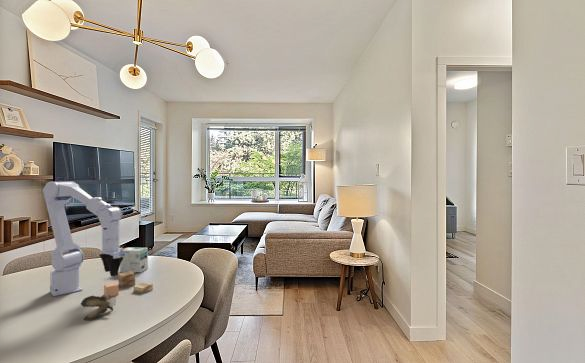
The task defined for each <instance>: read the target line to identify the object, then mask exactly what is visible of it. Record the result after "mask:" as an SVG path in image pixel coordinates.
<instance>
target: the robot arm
mask: <svg viewBox="0 0 585 363" xmlns="http://www.w3.org/2000/svg"><path fill="white" fill-rule="evenodd" d="M43 187H44V188H43V189H42V192H43V195H44V196H43V197H44V200H45V204H46V209H47V212H48V216H49V221H50V225H51V228H52V233H53V236H54V241H55V244H56V247H55V248H54V250H53V251H51V253H50V255H51V267H52V268H53V269H54V270H52V271H50V273H49V292H50V293H51V296H52V297H56V296H60V295H65V294H69V293H75V292H80V291H83V288H82V287H81V285H80V267H81V266H82V265H81V264H83V262H84V260H85V255H84V254H85V253H83V251H82V250H81V246H80V245H78V244H77V243H75V242H74V241H73V236H72V233H71V228H70V225H69V221H68V217H67V214H66V209H65V205H66V204H67V203H68V202H69V201H70V200H72V199H73V198H74V199H75V200H77V201H79V202H80V203H82V204H84V205H85V207H86V210H88V211H89V212H90V213H92V214H94V215H95V216H97V218H98V220H99V223H100V227H101V231H102V232H101V233H102V234H101V236H102V237H101V238H102V239H101V240H102V241H101V242H102V244H101V245H102V250H101V253H99V258H100V259H101V262H102V264H103V267H104V268H103V269H104V272H106V273H107V272H109V274H110V277H116V276H118V273H119V271H120V264H121V262H122V260H123V257H122V256H121V257H120V251H121V250H123V249H124V248H123V247H120V221H121V220H122V219H123V216H124V215H123V214H124V213H123V211H122V209H121V208H120V207H119V206H112V205H111V204H110V203H107V202H106V201H104V200H103V198H102V197H100V196H99V197H97V196H95V197H92V196H91V195H90V194H88V193H87V192H86V191H85V190H83V189H82V188H81V187H80V185H79V184H78V183H76V182H75V181H73V180H70V181H48V182H46V183H45V186H43Z"/></svg>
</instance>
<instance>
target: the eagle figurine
mask: <svg viewBox="0 0 585 363" xmlns="http://www.w3.org/2000/svg"><path fill="white" fill-rule="evenodd" d="M116 303H117V299H116V298H115V297H114V296H112V297H111V296H110V295H109V297H108V298H107V297H106V296H97V295H91V296H87V297H85V298H83V299H82V301H81V302H80V305H81V306H82V308H83V307H89V308H93V307H98V308H96V309H95V310H93V311H91V312H90V313H89V314H87V315H85V316H84V317H83V318H82V319H83V321H91V320H94V319H96V318H97V317H99V316H101V315H102V314H105V313H106V312H107V311H108V309H109V310H110V311H111V312H112V311H114V306H116Z"/></svg>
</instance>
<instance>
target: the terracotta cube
mask: <svg viewBox="0 0 585 363" xmlns="http://www.w3.org/2000/svg"><path fill="white" fill-rule="evenodd" d="M119 286H120V285H119V283H117V282H116V281H115V282H109V283H105V284H103V295H104V297H105V298H109V295H110V296H111V297H116V296H120V295H119Z"/></svg>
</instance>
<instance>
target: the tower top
mask: <svg viewBox="0 0 585 363" xmlns="http://www.w3.org/2000/svg"><path fill="white" fill-rule="evenodd" d="M135 273H136V272H132V271H128V272H118V275H117V278H118V281H119V280H120V281H121V282H125V281H130V280H134V279H135V278H136V277H135V276H136V275H135ZM135 280H136V279H135Z"/></svg>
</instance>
